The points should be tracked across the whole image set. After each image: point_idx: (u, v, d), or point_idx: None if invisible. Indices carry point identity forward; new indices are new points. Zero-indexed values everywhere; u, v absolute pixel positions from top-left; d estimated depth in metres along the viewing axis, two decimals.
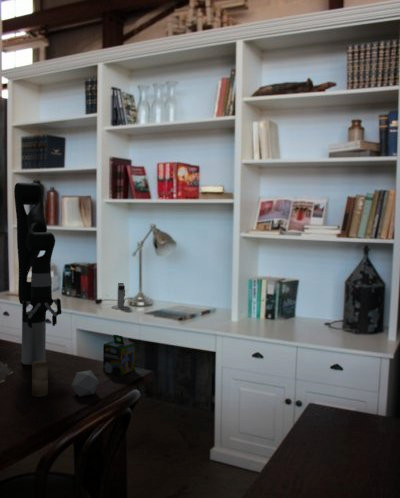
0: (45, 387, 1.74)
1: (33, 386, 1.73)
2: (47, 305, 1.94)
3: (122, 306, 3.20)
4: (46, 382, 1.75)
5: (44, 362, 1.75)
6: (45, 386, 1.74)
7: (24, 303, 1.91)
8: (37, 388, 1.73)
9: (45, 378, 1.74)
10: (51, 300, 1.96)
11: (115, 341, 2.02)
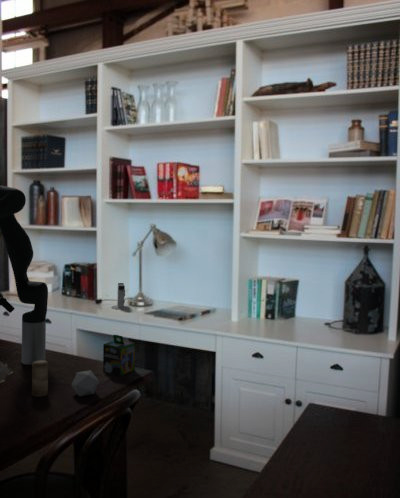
0: (45, 387, 1.74)
1: (33, 386, 1.73)
2: None
3: (122, 306, 3.20)
4: (46, 382, 1.75)
5: (44, 362, 1.75)
6: (45, 386, 1.74)
7: None
8: (37, 388, 1.73)
9: (45, 378, 1.74)
10: None
11: (115, 341, 2.02)
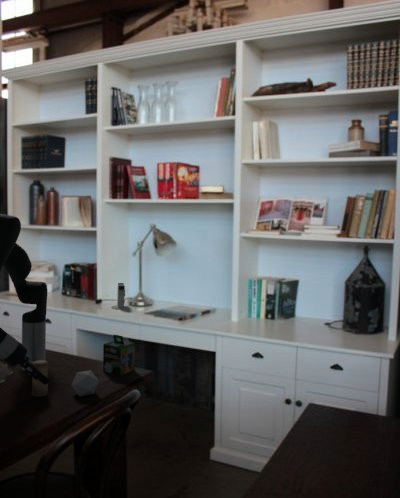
0: (45, 387, 1.74)
1: (33, 386, 1.73)
2: (23, 369, 1.71)
3: (122, 306, 3.20)
4: None
5: (44, 362, 1.75)
6: (45, 386, 1.74)
7: None
8: (37, 388, 1.73)
9: None
10: (22, 366, 1.68)
11: (115, 341, 2.02)
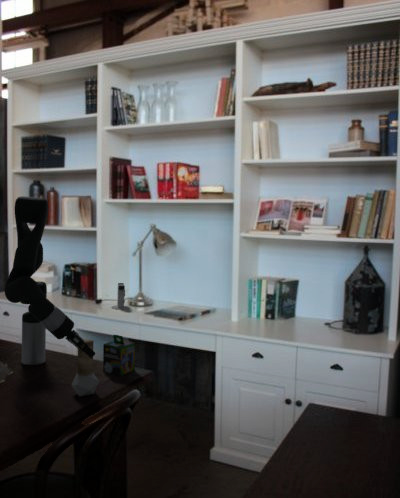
0: (91, 365, 1.75)
1: (79, 364, 1.74)
2: (70, 342, 1.71)
3: (122, 306, 3.20)
4: (92, 361, 1.75)
5: (89, 341, 1.76)
6: (91, 364, 1.75)
7: None
8: (83, 366, 1.74)
9: None
10: (69, 338, 1.69)
11: (115, 341, 2.02)
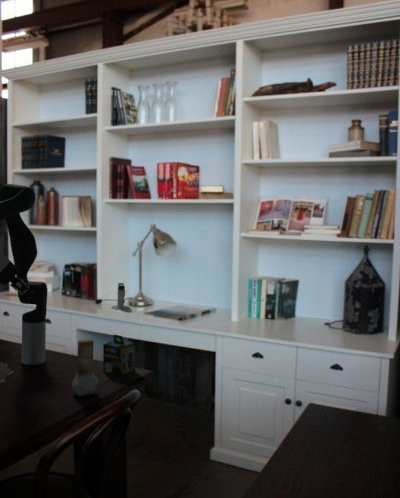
0: (91, 366, 1.75)
1: (79, 364, 1.74)
2: None
3: (122, 306, 3.20)
4: (92, 361, 1.75)
5: (89, 341, 1.76)
6: (91, 365, 1.75)
7: None
8: (83, 367, 1.74)
9: (91, 357, 1.75)
10: (13, 284, 1.65)
11: (115, 341, 2.02)
